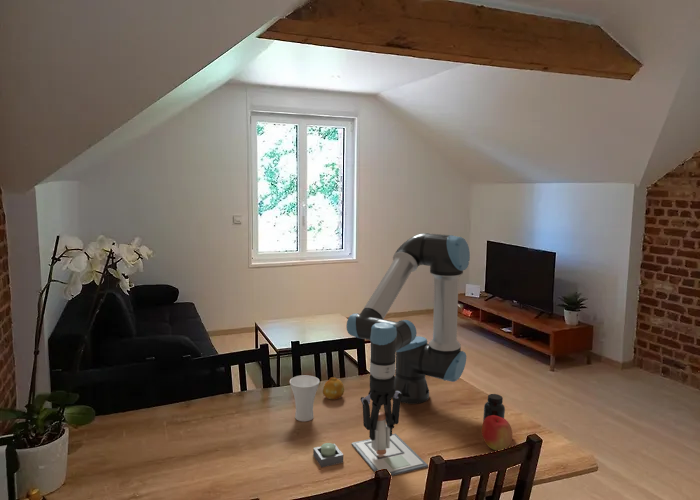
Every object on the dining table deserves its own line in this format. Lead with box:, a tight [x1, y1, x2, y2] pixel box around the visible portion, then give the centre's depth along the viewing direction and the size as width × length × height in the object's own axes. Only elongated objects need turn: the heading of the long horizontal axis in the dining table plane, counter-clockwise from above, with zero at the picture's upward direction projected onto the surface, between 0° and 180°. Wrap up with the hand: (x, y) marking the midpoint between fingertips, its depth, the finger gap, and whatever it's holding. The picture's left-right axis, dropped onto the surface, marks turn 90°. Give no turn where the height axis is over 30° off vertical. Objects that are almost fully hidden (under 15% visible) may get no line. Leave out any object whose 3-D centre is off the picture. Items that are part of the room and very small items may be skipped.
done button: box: [321, 442, 337, 457], centre depth 157 cm, size 4×4×3 cm
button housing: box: [312, 443, 344, 468], centre depth 158 cm, size 7×7×2 cm
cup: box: [289, 374, 320, 422], centre depth 183 cm, size 10×10×14 cm
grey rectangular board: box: [350, 433, 429, 477], centre depth 160 cm, size 20×16×1 cm
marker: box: [376, 411, 387, 455], centre depth 158 cm, size 4×4×12 cm
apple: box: [481, 415, 513, 451], centre depth 165 cm, size 10×10×10 cm
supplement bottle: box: [482, 393, 506, 422], centre depth 177 cm, size 7×7×12 cm
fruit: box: [322, 376, 345, 401], centre depth 200 cm, size 8×8×8 cm
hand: (380, 447), depth 159 cm, fingers closed on marker, 3 cm apart
